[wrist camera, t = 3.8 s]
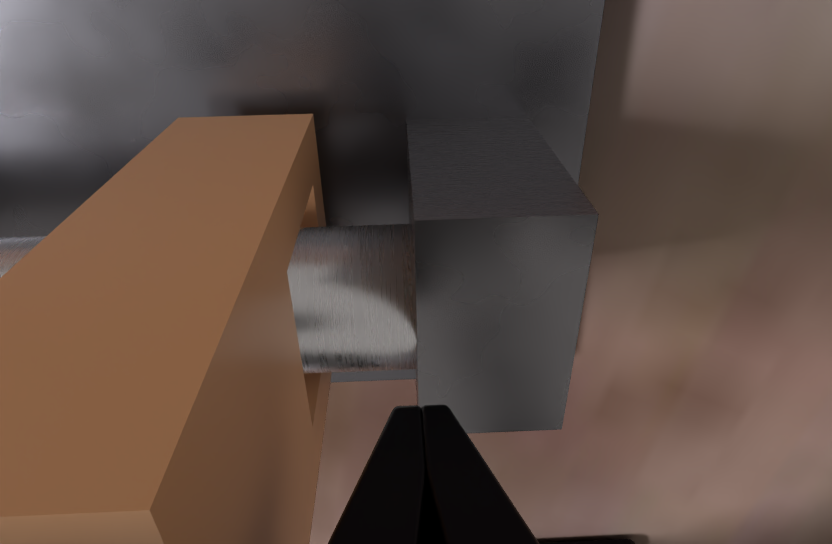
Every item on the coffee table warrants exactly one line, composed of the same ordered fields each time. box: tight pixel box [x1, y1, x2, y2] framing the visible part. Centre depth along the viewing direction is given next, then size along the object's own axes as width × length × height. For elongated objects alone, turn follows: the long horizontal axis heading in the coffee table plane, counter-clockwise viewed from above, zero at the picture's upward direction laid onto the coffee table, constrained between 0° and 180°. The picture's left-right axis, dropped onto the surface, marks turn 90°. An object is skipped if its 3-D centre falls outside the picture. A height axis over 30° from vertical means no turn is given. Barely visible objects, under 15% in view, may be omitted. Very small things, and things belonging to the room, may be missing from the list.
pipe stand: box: [0, 0, 605, 433], centre depth 13 cm, size 26×12×7 cm, turn 91°
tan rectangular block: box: [0, 114, 332, 544], centre depth 10 cm, size 3×6×10 cm, turn 1°
